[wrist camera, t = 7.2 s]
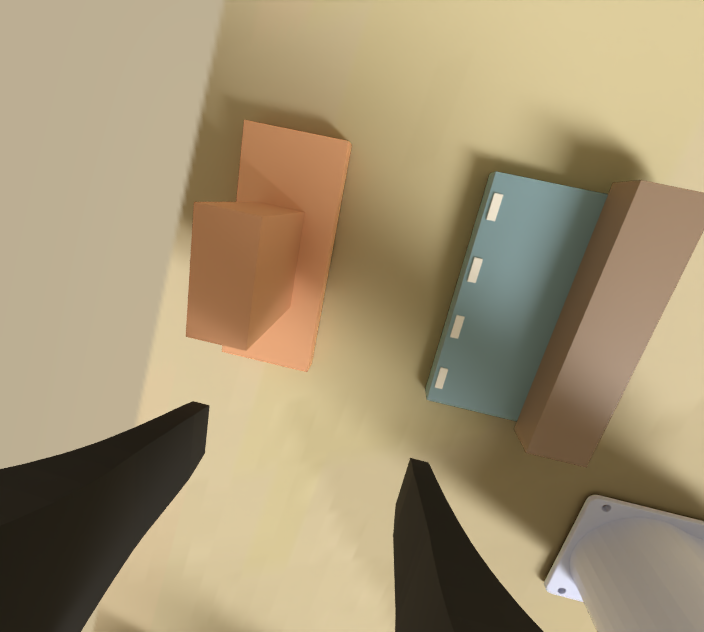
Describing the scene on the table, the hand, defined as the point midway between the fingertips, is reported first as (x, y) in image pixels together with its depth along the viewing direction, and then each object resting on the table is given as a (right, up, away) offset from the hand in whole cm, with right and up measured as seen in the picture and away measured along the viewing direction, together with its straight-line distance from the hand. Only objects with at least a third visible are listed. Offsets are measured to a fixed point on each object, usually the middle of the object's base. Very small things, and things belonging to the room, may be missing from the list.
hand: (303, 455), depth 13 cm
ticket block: (+12, +5, +7) cm, 15 cm away
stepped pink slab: (-2, +8, +7) cm, 11 cm away
